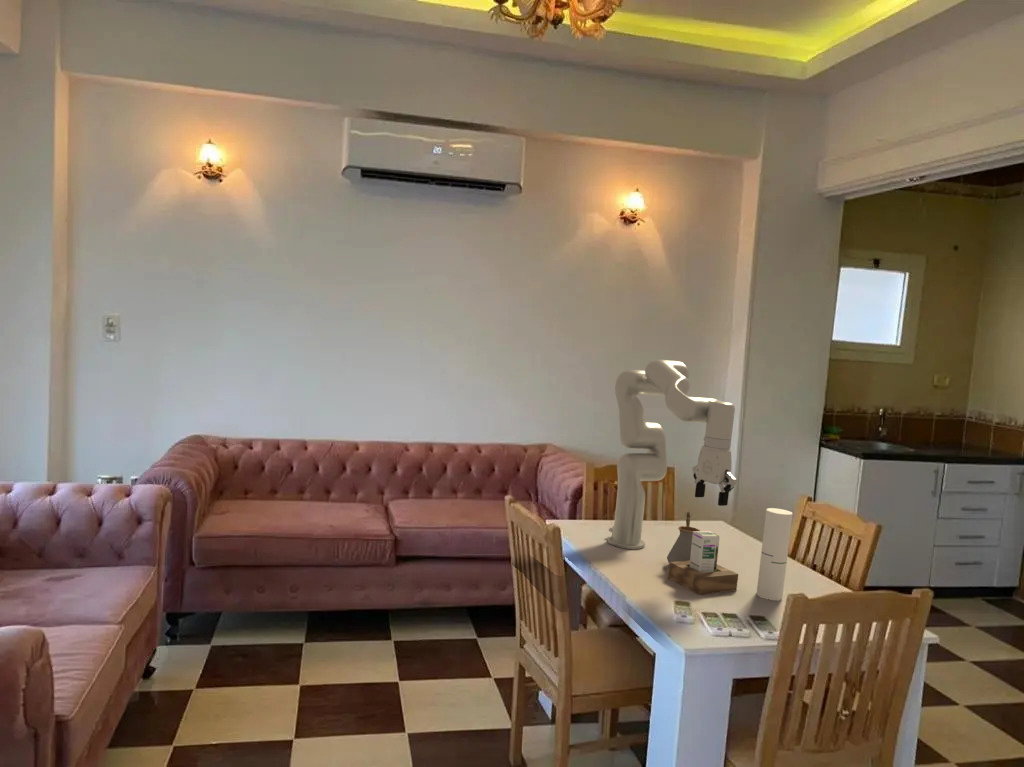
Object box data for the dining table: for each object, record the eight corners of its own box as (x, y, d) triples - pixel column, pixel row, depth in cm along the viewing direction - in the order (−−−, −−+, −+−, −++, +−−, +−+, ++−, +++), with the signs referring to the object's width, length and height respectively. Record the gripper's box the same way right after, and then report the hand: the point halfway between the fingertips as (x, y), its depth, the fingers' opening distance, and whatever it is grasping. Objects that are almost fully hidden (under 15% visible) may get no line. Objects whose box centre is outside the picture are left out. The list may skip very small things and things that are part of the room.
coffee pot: (703, 577, 231) (709, 529, 230) (665, 571, 234) (670, 523, 233) (701, 557, 252) (706, 513, 251) (666, 552, 254) (671, 508, 253)
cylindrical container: (761, 589, 224) (771, 506, 223) (785, 596, 220) (796, 512, 218) (752, 594, 219) (762, 510, 217) (777, 602, 214) (787, 515, 213)
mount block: (667, 578, 227) (669, 562, 227) (703, 574, 234) (705, 559, 233) (699, 594, 215) (701, 577, 214) (736, 590, 221) (738, 574, 221)
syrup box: (698, 584, 221) (703, 535, 220) (687, 577, 226) (692, 529, 225) (715, 584, 223) (720, 535, 221) (704, 577, 228) (709, 530, 227)
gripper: (687, 438, 227) (681, 494, 228) (729, 449, 212) (722, 509, 213) (706, 438, 230) (700, 493, 232) (748, 449, 215) (741, 508, 217)
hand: (710, 501), depth 222 cm, fingers open, 9 cm apart
